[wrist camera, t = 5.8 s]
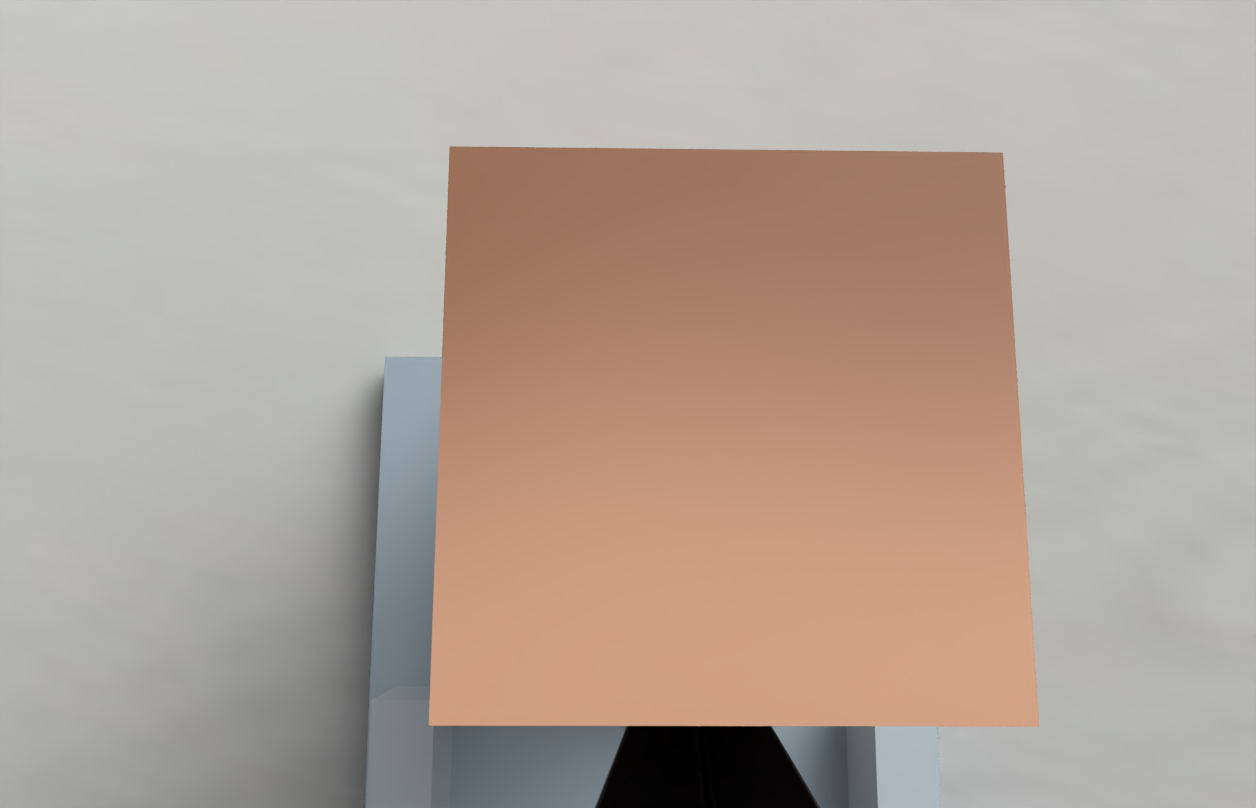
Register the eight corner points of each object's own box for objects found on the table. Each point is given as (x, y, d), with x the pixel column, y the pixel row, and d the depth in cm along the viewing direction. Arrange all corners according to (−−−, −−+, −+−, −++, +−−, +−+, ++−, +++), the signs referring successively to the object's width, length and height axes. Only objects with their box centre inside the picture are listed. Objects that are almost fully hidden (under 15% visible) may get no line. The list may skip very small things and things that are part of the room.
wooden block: (793, 696, 17) (1187, 960, 6) (507, 696, 17) (282, 963, 5) (785, 360, 18) (1104, -25, 7) (515, 358, 18) (341, -38, 6)
